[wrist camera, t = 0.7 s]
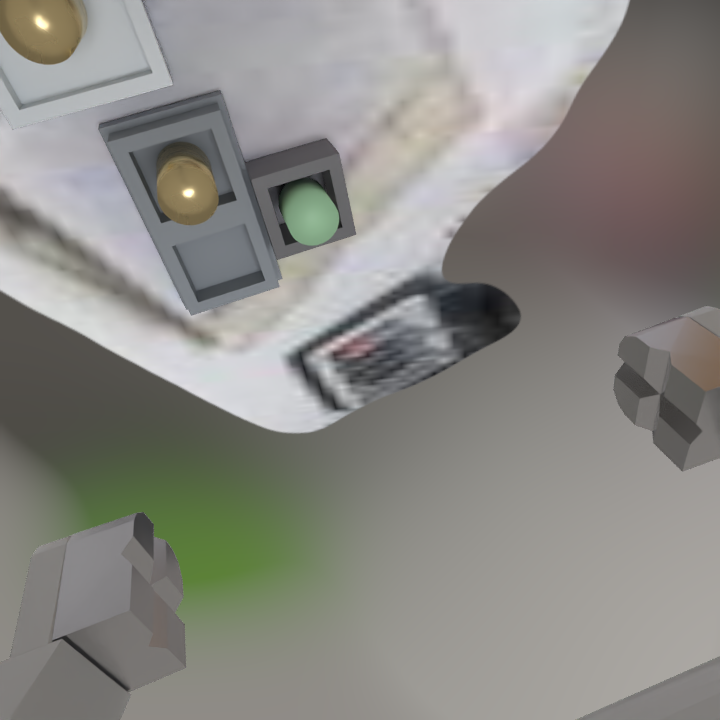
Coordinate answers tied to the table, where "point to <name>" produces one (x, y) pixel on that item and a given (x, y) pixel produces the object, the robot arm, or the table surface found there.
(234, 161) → the compartment tray
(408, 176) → the table surface
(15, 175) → the table surface
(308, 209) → the button
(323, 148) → the button housing
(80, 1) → the cylinder
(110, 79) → the grey square tray
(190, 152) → the billet
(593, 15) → the table surface
